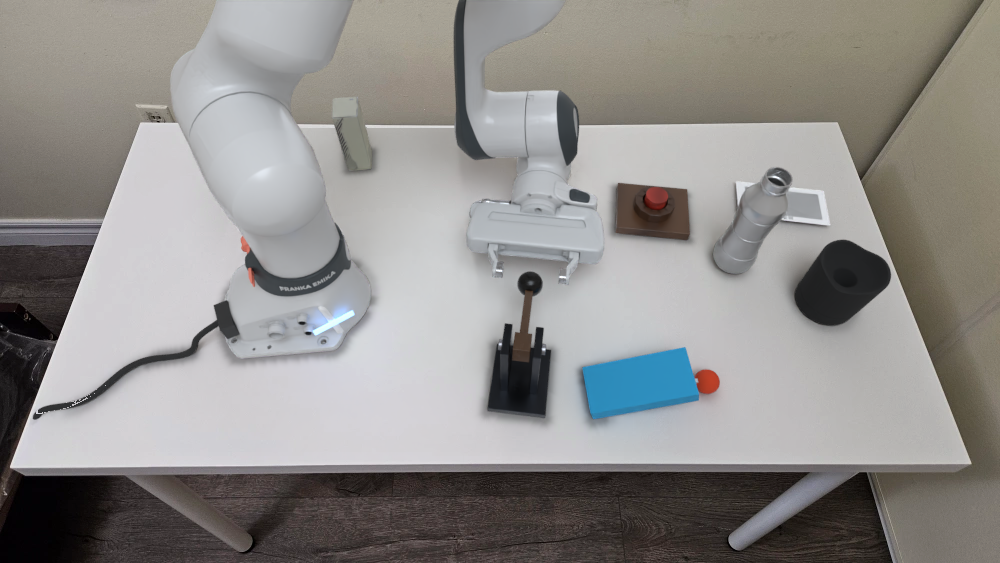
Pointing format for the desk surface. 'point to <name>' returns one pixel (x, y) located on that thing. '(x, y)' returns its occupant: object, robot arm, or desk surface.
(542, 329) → the bracket
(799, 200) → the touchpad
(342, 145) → the box
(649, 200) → the button
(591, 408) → the blue block with knob
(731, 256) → the plastic bottle
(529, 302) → the lever
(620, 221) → the button block
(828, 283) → the pen holder
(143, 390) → the desk surface
